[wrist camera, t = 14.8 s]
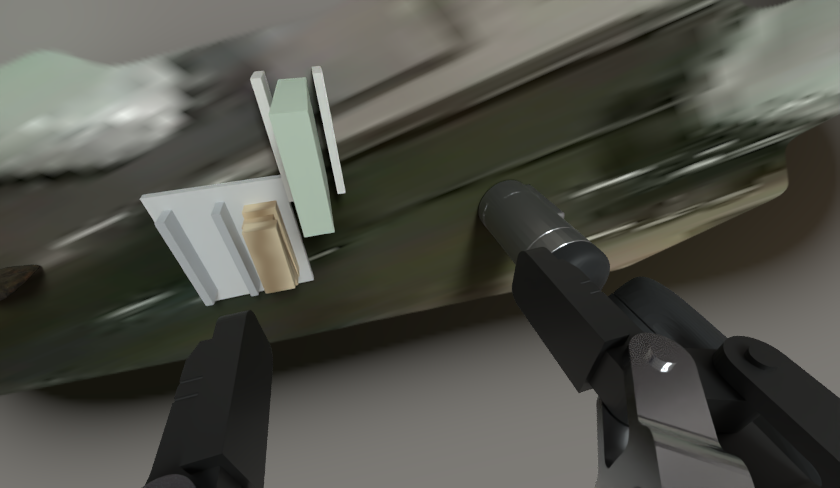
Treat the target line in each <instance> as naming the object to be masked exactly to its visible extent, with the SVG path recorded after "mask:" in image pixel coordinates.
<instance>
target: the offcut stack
mask: <svg viewBox="0 0 840 488" xmlns="http://www.w3.org/2000/svg"><path fill="white" fill-rule="evenodd" d="M242 215H243V217H244V221H243V225H242V235H243V238H244V240H245V243H246V245H247V248H248V250H249V253H250V255H251V258H252V260H253V263H254V265H255V268H256V270H257V273H258V275H259V278H260V280H261V283H262V285H263V288H264V290H265V293H266V294H267V293H273V292H278V291H283V290H289V289H294V288H295V286H296V285H298V277H299V265H298V262H297V259H296V257H295V254H294V251H293V248H292V245H291V242H290V239H289V236H288V233H287V230H286V227H285V225H284V222H283V219H282V216H281V213H280V210H279V207H278V204H277V201H276V200H275V201H269V202H262V203H256V204H250V205H244V207H243V211H242Z"/></svg>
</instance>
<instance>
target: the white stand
mask: <svg viewBox="0 0 840 488" xmlns="http://www.w3.org/2000/svg"><path fill="white" fill-rule="evenodd" d="M312 74H313V79H314V83H315V88H316V93H317V98H318V102H319V107H320V112H321V117H322V121H323V126H324V131H325V136H326V140H327V145H328V150H329V155H330V160H331V164H332V169H333V174H334V179H335V183H336V188H337V193H338V194H342V193H346V192H345V187H344V182H343V177H342V172H341V166H340V161H339V156H338V151H337V146H336V140H335V135H334V130H333V125H332V120H331V115H330V109H329V104H328V99H327V94H326V89H325V84H324V78H323V73H322V69H321V66H314V67H312ZM250 80H251V83H252V87H253V90H254V93H255V96H256V99H257V102H258V106H259V109H260V112H261V115H262V118H263V121H264V124H265V128H266V131H267V134H268V137H269V140H270V143H271V147H272V150H273V153H274V156H275V159H276V162H277V165H278V169H279V172H280V175H281V178H282V181H283V184H284V187H285V191H286V194H287V197H288V200H289V202H293V201H294V200H293V196H292V193H291V190H290V186H289V183H288V179H287V176H286V173H285V169H284V166H283V162H282V159H281V155H280V152H279V149H278V145H277V142H276V138H275V135H274V132H273V128H272V125H271V121H270V118H269V111H270V107H271V104H272V100H273V99H272V96H271V92H270V89H269V86H268V82H267V79H266V75H265V72H264V71H256V72H254V73H253V75H252V76H251V78H250Z"/></svg>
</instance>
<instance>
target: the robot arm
mask: <svg viewBox="0 0 840 488" xmlns="http://www.w3.org/2000/svg"><path fill="white" fill-rule="evenodd" d="M478 211H479V218H480V220H481V221H482V223H483V224H484V225H485V227H486V228H487V229H488V230H489V232H490V233H491V234H492V236H493V237H494V238H495V239H496V241H497V242H498V243H499V244H500V246H501V247H502V248H503V249H504V251H505V252H506V253H507V254H508V256H509V257H510V258H511V260H512V261H513V262H514V263H515V265H516V267H515V273H514V278H513V283H512V292H513V296H514V299H515V301H516V303H517V305H518V306H519V308H520V309H521V311H522V312H523V314H524V315H525V316H526V318H527V319H528V321H529V322H530V324H531V325H532V326H533V328H534V329H535V331H536V332H537V333H538V335H539V336H540V338H541V339H542V341H543V342H544V344H545V345H546V347H547V348H548V349H549V351H550V352H551V354H552V355H553V357H554V358H555V360H556V361H557V362H558V364H559V365H560V367H561V368H562V370H563V371H564V372H565V374H566V375H567V377H568V378H569V380H570V381H571V382H572V384H573V385H574V387H575V388H576V390H577V391H578V392H579V393H580V392H583V391H586V390H589V389H594V390H595V392H596V393H597V394H598V397H597V403H596V407H597V440H598V477H597V481H596V485H595V488H840V398H839V397H837V396H836V395H835V394H834V393H832V392H831V391H830V390H828V389H827V388H826V387H825V386H823V385H822V384H821V383H820V382H818V381H817V380H816V379H815V378H813V377H812V376H810V375H809V374H808V373H807V372H806V371H805V370H803V369H802V368H801V367H799V366H798V365H797V364H796V363H794V362H793V361H792V360H790V359H789V358H788V357H787V356H786V355H784V354H783V353H782V352H780V351H779V350H777V349H776V348H774V347H772V346H771V345H769V344H767V343H764V342H762V341H760V340H757V339H754V338H750V337H745V336H733V337H730V338H727V337H726V336H724V335H723V334H722V333H721V332H720V331H719V330H717V329H716V328H715V327H714V326H713V325H712V324H711V323H710V322H708V321H707V320H706V319H705V318H704V317H703V316H702V315H700V314H699V313H698V312H697V311H696V310H695V309H693V308H692V307H691V306H690V305H689V304H688V303H686V302H685V301H684V300H683V299H682V298H680V297H679V296H678V295H676V294H675V293H674V292H672V291H671V290H669V289H668V288H666V287H665V286H664V285H662V284H660V283H658V282H656V281H655V280H652V279H650V278H646V277H636V278H633V279H632V280H630V281H628V282H627V283H625V284H624V285H623V286H621V287H620V288H618V289H617V290H616V291H615V292H614V294H613V293H612V294H611V295H610V296H608V297H607V296H606V295H605V294H604V293H603V292H601V289H602V288H603V286H604V284H605V282H606V280H607V278H608V275H609V271H610V264H609V260H608V258H607V257H606V255H605V254H604V253H603V252H602V251H601V250H600V249H598V248H597V247H596V246H595V245H594V244H592V243H591V242H590V241H589V240H588V239H586V238H585V237H584V236H583V235H582V234H581V233H579V232H578V231H577V230H576V229H575V228H573V227H572V226H571V225H570V224H569V223H568V222H566V221H565V220H564V213H563V212H562V211H561V210H560V209H559V208H558V207H556V206H555V205H554V204H553V203H552V202H550V201H549V200H548V199H547V198H546V197H544V196H543V195H542V194H541V193H540V192H538V191H537V190H536V189H535V188H534V187H532V186H531V185H524V184H522V183H521V182H519V181H516V180H507V181H503V182H500V183H498V184H496V185H495V186H493V187H492V188H491V189H489V190H488V191H487V193H486V194H485V195H484V197H483V198H482V200H481V202H480V205H479V210H478ZM272 371H273V357H272V350H271V346H270V344H269V342H268V340H267V338H266V336H265V334H264V332H263V330H262V328H261V326H260V324H259V322H258V320H257V318H256V316H255V314H254V313H253V312H252V311H251V310H248V311H244V312H239V313H235V314H230V315H226V316H221V317H219V318H218V320H217V323H216V326H215V330H214V334H213V338H212V339H210V340H205V341H201V342H200V343H199V344H198V345H197V347H196V348H195V349H194V351H193V352H192V353H191V355H190V356H189V358H188V359H187V360H186V362H185V366H184V369H183V372H182V375H181V379H180V385H179V386H178V388H177V391H176V394H175V397H174V399H175V402H174V403H173V404H172V407H171V410H170V413H169V416H168V420H167V423H166V426H165V429H164V432H163V436H162V439H161V442H160V445H159V448H158V451H157V454H156V458H155V461H154V464H153V467H152V470H151V473H150V475H149V478H148V480H147V482H146V484H145V486H144V487H142V488H263V487H264V475H265V462H266V449H267V436H268V423H269V409H270V397H271V384H272Z"/></svg>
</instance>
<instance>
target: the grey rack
mask: <svg viewBox="0 0 840 488" xmlns="http://www.w3.org/2000/svg"><path fill="white" fill-rule="evenodd" d="M140 200H141V201H142V203H143V205H144V206H145V208H146V209H147V211H148V213H149V214H150V216H151V217H152V219H153V220H154V222H155V226H156V228H157V229H158V231H159V232H160V234H161V235H162V237H163V239H164V240H165V242H166V243H167V245H168V247H169V248H170V250H171V251H172V253H173V254H174V256H175V258H176V259H177V261H178V262H179V264H180V265H181V267H182V269H183V270H184V272H185V273H186V275H187V276H188V278H189V280H190V281H191V283H192V284H193V286H194V288H195V289H196V291H197V292H198V294H199V295H200V297H201V299H202V300H203V302H204V303H205V305H206V306H209V305H213V304H214V302H215V301H217V300H222V299H226V298H231V297H236V296H241V295H245V294H250V295H251V296H256V295H259V292H260V291H264V288H263V285H262V283H261V280H260V278H259V275H258V273H257V270H256V268H255V265H254V263H253V260H252V258H251V255H250V253H249V250H248V248H247V245H246V243H245V240H244V238H243V235H242V225H243V221H244V217H243V215H242V211H243V207H244V205H250V204H256V203H262V202H269V201H275V200H276V201H277V204H278V207H279V210H280V213H281V216H282V219H283V222H284V225H285V227H286V230H287V233H288V236H289V239H290V242H291V245H292V248H293V251H294V254H295V257H296V259H297V262H298V265H299V277H298V283H302V282H307V281H312V280H314V275H313V272H312V269H311V266H310V263H309V259H308V256H307V253H306V250H305V247H304V244H303V240H302V237H301V234H300V231H299V228H298V224H297V221H296V218H295V215H294V212H293V209H292V205H291V202H289V200H288V197H287V194H286V191H285V187H284V184H283V181H282V178H281V175H275V176H268V177H261V178H255V179H248V180H241V181H234V182H227V183H220V184H213V185H207V186H200V187H193V188H186V189H179V190H172V191H165V192H159V193H152V194H145V195H142V197H141V198H140Z"/></svg>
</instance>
